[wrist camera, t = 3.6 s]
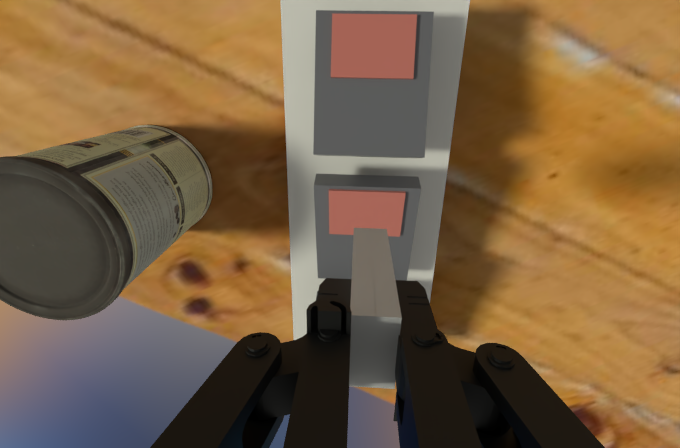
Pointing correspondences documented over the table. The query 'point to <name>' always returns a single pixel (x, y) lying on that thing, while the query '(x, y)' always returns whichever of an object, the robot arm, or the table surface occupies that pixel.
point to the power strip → (303, 165)
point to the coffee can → (94, 217)
